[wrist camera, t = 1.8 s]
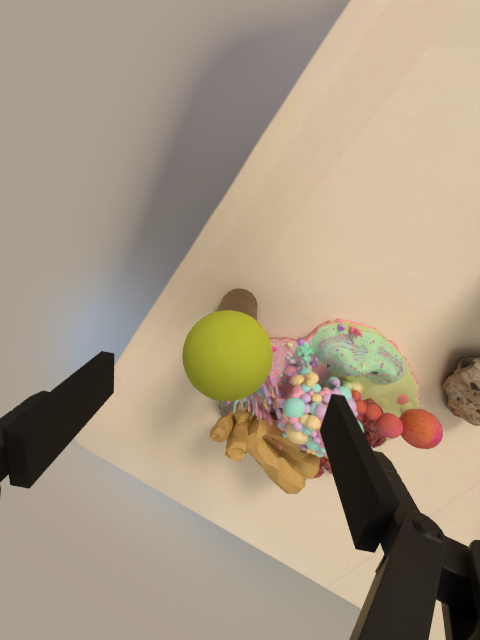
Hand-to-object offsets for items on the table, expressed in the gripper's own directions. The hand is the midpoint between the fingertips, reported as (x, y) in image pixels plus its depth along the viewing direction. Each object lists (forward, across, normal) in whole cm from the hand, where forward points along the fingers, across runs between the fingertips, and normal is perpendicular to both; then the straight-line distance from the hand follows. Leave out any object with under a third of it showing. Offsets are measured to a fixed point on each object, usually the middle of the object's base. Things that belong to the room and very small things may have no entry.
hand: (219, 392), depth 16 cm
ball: (+5, 0, 0) cm, 5 cm away
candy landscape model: (+18, +12, -11) cm, 24 cm away
